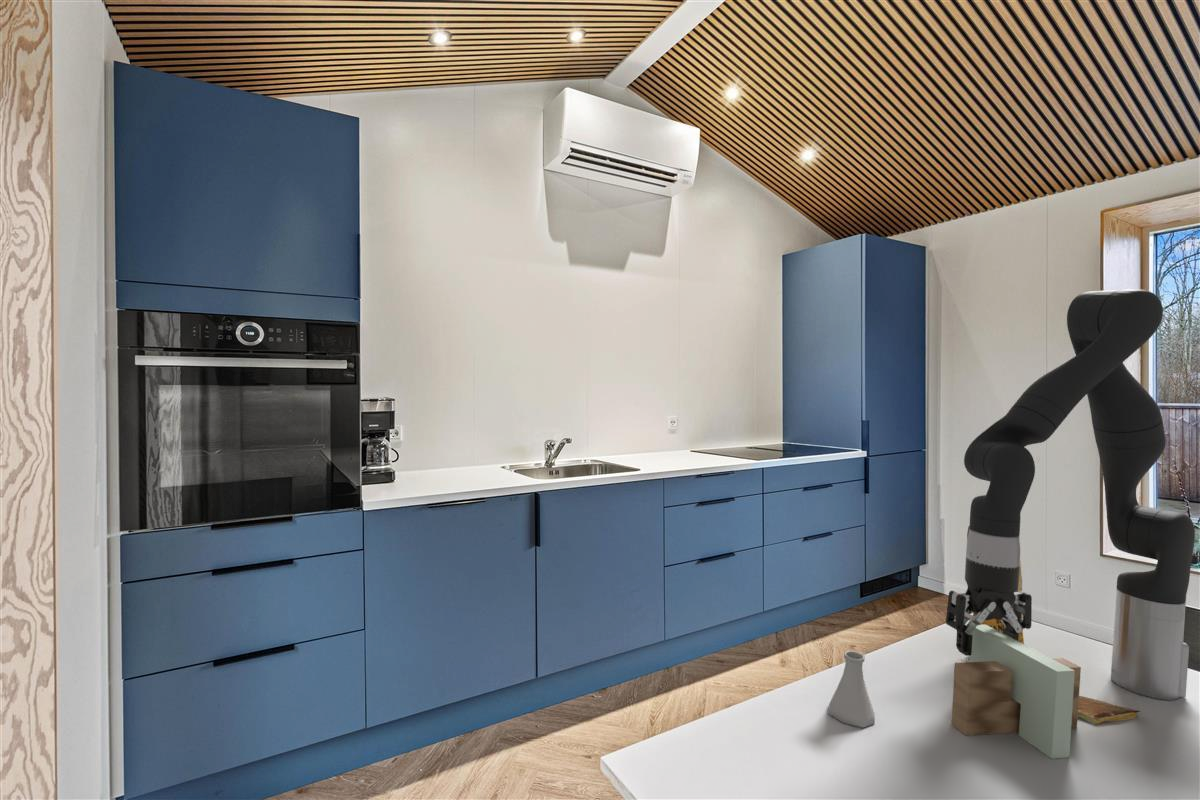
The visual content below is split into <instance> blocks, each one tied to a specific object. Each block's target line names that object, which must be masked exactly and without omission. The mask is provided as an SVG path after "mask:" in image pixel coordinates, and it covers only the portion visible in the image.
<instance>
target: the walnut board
mask: <svg viewBox="0 0 1200 800" xmlns="http://www.w3.org/2000/svg"><path fill="white" fill-rule="evenodd" d="M1052 659H1053V660H1055V661H1057V662H1059V663H1061V664H1063V665H1065V666H1067V667H1069V668H1071V669H1073V670H1075V675H1074V691H1073V707H1072V723H1071V730H1073V729H1074V730H1075V729H1078V719H1079V717H1078V704H1079V696H1080V686H1081V671H1082V669H1081V668H1082V666H1080V665H1077V664H1075V663H1073V662H1072V661H1070V660H1067V659H1065V658H1063V657H1058V658H1057V657H1056V658H1052ZM953 668H954V671H953V686H952V689H953V690H952V691H953V692H952V704H951V705H952V706H951V708H952V709H951V722H950V725H952V726H953V727H954V728H955V729H957V730H958V731H959V732H960V733H962V734H964V736H965V737H966V736H978V735H979V736H982V735H995V734H997V735H998V734H1013V733H1019V725H1020V709H1021V704H1020V703H1018V702H1017V701H1015V700H1013V699H1012V698H1011V682H1012V670H1011V669H1009V668H1007V667H1006V666H1004V665H1002V664H1000V663H999V662H997V661H985V662H968V661H966V662H965V661H963V662H954V667H953Z"/></svg>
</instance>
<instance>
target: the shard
mask: <svg viewBox="0 0 1200 800" xmlns="http://www.w3.org/2000/svg"><path fill="white" fill-rule="evenodd" d="M1140 713H1141V710H1137V709H1132V708H1129V707H1126V706H1120V705H1117V704H1113V703H1109V702H1105V701H1102V700H1098V699H1094V698H1091V697H1088V696H1087V697H1086V696H1083V695H1082V696H1081V695H1079V704H1078V718H1081V719H1083V720H1085V721H1087V722H1089V723H1091V724H1093V725H1099V724H1100V723H1103V722H1112V721H1113V722H1116V721H1124V720H1132V719H1135V718H1137V716H1138V715H1137V714H1140Z"/></svg>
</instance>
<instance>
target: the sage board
mask: <svg viewBox="0 0 1200 800" xmlns="http://www.w3.org/2000/svg"><path fill="white" fill-rule="evenodd" d="M971 634H972V635H973V637H972V654H971V655H970V656H967V657H968V659H967V662H985V661H997V662H999V663H1000V664H1002V665H1004V666H1006V667H1007V668H1009V669H1011V670H1012V682H1011V698H1012V699H1013V700H1015V701H1017V702H1018V703H1020V704H1021V709H1020V725H1019V732H1018V736H1019V737H1020V738H1021V739H1023V740H1024V741H1026V742H1028V744H1030V745H1032V746H1033V747H1034V748H1035V749H1037V750H1039V751H1040V752H1042V753H1043V754H1044V755H1045V756H1047V757H1049V758H1050V759H1052V760H1053V759H1065V758H1070V752H1071V751H1070V750H1071V736H1072V729H1071V723H1072V707H1073V691H1074V675H1075V670H1073V669H1071V668H1069V667H1067V666H1065V665H1063V664H1061V663H1059V662H1057V661H1055V660H1053V659H1054V658H1051V657H1049V656H1047V655H1046V654H1044V653H1041V652H1040V651H1037V650H1036V649H1034V648H1032V647H1029V646H1028V645H1026V644H1025V643H1024V644H1022V643H1020V642H1018V641H1017V640H1015V639H1013V638H1011V637H1009V636H1007V635H1005V634H1003V633H1001V632H999V631H997V630H995V629H993V628H991V627H989V626H988V625H986V624H984V625H977V626H976V628H975V629H974V631H973V632H972V633H971Z"/></svg>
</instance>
